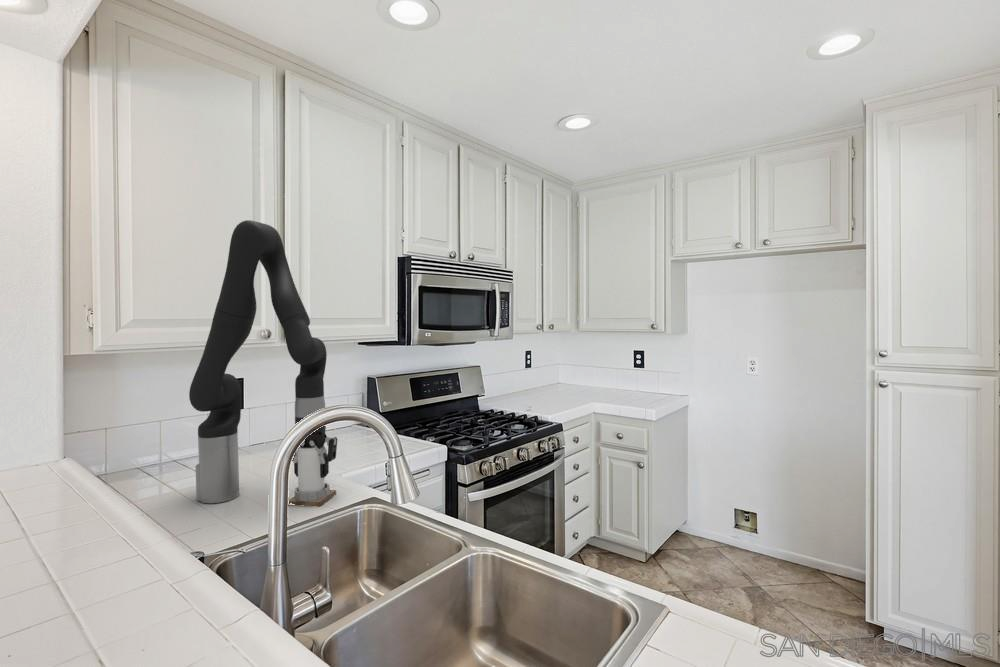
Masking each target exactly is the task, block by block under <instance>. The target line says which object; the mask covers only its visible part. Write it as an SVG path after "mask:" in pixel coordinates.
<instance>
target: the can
mask: <svg viewBox="0 0 1000 667" xmlns="http://www.w3.org/2000/svg"><path fill="white" fill-rule="evenodd" d="M315 449H316V448H315V447H312V448H309V447H304V448H302V447H300V449H299V451H298V477H297V484H298V486H297V487H298V489H299V492H301V493H311V492H318V491H321V490H323V489H324V487H325V483H326V482H325V477H324V478H321V476H320V464H322V463H321V462H320V459H319V456H318V455H317V451H316V450H315ZM319 450H320V451H323V448H320V449H319ZM323 456H324V454H323Z"/></svg>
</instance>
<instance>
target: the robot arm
mask: <svg viewBox="0 0 1000 667" xmlns="http://www.w3.org/2000/svg"><path fill="white" fill-rule="evenodd" d="M231 234H232V235H231V238H230V243H229V248H228V249H229V250H228V254H227V255H228V257H227V263H226V269H225V273H224V277H223V281H222V285H221V288H220V293H219V298H218V300H217V303H216V306H215V309H214V313H213V317H212V322H211V326H210V330H209V333H208V337H207V340H206V342H205V346H204V350H203V353H202V356H201V358H200V362H199V364H198V365H197V367H196V368H197V369H196V371H195V372H194V375H193V379H192V381H191V384H190V386H189V392H188V396H189V398H188V399H189V402H190V404H191V406H192V408H193V409H195V410H196V411H197V412H209V414H208V416H207V418H206V419H205V420H203V421H202V422H201V423H200V424H199V425H198V428H197V443H198V444H197V445H198V463H196V465H195V488H196V489H195V490H196V491H195V492H196V494H195V495H196V497H195V498H196V501H197V502H198V501H199V502H201V503H202V504H218V503H224V502H228V501H231V500H234V499H236V498H237V497H239V496H240V472H239V471H240V470H239V469H240V466H239V438H238V434H239V432H238V427H239V424H240V421H241V413H242V389H241V385H240V382H239V380H238V378H236V377H235V376H234V375H232V374H231V373H226V370H227V367H228V366H229V364H230V361H231V360H232V358H233V357H234V355H235V354H236V353H237V352H238V351H239V350H240V348H241V347H242V346H243V344H244V343H245V342H246V341H247V339H248V337H249V336H250V334H251V331H252V328H253V325H254V321H255V319H256V318H255V317H256V313H257V299H256V291H255V282H254V281H255V275H256V271H257V268H258V264H259V263H261V265H262V266H263V268H264V270H265V272H266V274H267V275H266V276H267V277H268V282H269V287H270V289H269V290H270V298H271V304H272V307H273V310H274V312H275V314H276V317H277V319H278V321H279V323H280V325H281V328H282V329H283V334H284V339H285V343H286V346H287V347H286V348H287V351H288V353H289V355H290V357H291V359H292V360H293V361H294V362H295V363H296V364H298V365H299V374H298V375H297V376H296V377H295V381H294V382H295V383H294V390H295V391H294V393H295V399H294V400H295V401H294V425H295V424H296V423H297V422H299V421H300V420H301V419H303V418H304V417H306V416H307V415H309V414H311V413H313V412H315V411H317V410H319V409H322V408H325V409H326V401H325V390H324V389H325V386H324V385H325V384H324V378H325V371H326V365H327V356H328V355H327V347H326V344H325V342H324V341H323V340H321V339H320V338H318V337H313V336H312V333H311V330H310V327H309V326H310V324H311V319H310V317H309V314H308V312H307V310H306V308H305V306H304V304H303V301H302V299H301V296H300V294H299V292H298V289H297V287H296V284H295V281H294V278H293V275H292V272H291V268H290V266H289V261H288V259H287V255H286V251H285V247H284V244H283V240H282V237H281V235H280V233H279V231H278V230H277V229H276V228H274V227H273V226H272V225H270V224H267V223H263V222H259V221H254V220H250V219H247V220H242V221H241V222H239V223H238V224H237V225H236V226H235V228H234V229H233V231H232V233H231ZM326 427H327V426H323V427H321V428H319V429H318V430H316V431H315V432H313V433H312V434H311V435H309V436H308V437H307V438H306V439H305V441H304V442H303V443H302V444H301V445H300V447H302V448H304V447H309V448H312V447H315V448H316V449H315V450H316V451H317V455H318V456H319V459H320V462H321V463H322V464H320V476H321V478H324V479H325V478H326V477H327V476H328V474H329V473H330V469H329V468H330V466H329V465H330V464H329V463H330V462H332V461H334V460H336V459H337V447H338V437H337V436H336V437H329V436H327V434H326V429H327V428H326ZM325 444H326V446H327V448H326V446H325ZM298 447H299V446H298ZM298 447H297V449H298V450H297V449H296V450H295V455H294V458H293V460H292V461H291V462H293V467H294V468H293V469H294V470H293V472H294V475H295V477H297V478H298V451H299V449H300V447H299V448H298ZM320 448H323V451H320V450H319V449H320ZM323 454H324V456H323Z"/></svg>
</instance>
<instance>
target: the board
mask: <svg viewBox="0 0 1000 667" xmlns="http://www.w3.org/2000/svg"><path fill="white" fill-rule="evenodd" d="M334 495H335V496H336V495H337V489H330V495H328V496H327V497H326V498H323V499H320V500H315V501H298V500H296V499H295V495H294V496H293V497H291V498H290V499H288V500H289V504H290V503H292V504H295V505H304V506H303V507H313V506H318V508H320V507H322V506H323V505H324V504H325V502H326V503H327V502H329V500H331V499H332V498H333V497H335V496H334ZM330 498H331V499H330ZM321 505H322V506H321Z"/></svg>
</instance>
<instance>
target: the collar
mask: <svg viewBox="0 0 1000 667" xmlns="http://www.w3.org/2000/svg"><path fill="white" fill-rule="evenodd" d="M330 490H331V487H330V483H328V482H325V487H324V489H323V490H321V491H318V492H311V493H301V492H299V489H298V486H297V487H295V488H294V496H295V499H296V500H298V501H315V500H320V499H323V498H326V497H327V496H328V495H330Z"/></svg>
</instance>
